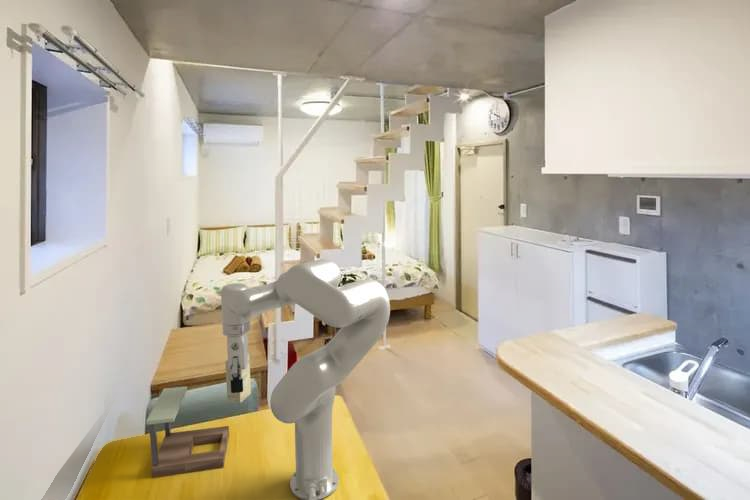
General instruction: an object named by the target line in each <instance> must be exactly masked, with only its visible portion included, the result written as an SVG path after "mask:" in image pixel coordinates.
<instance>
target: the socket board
mask: <svg viewBox="0 0 750 500" xmlns="http://www.w3.org/2000/svg"><path fill="white" fill-rule="evenodd" d="M187 391H188V386H178V387H167V388H163V389H162V391H161V393H160V395H159V396H158V398H157V400H156V402H155V404H154V405H153V407H152V410H151V411H150V413H149V415H148V417H147V419H146V421H145V422H146V424H145V425H148V426H149V437H150V440H149V441H150V451H151V452H150V453H151V463H152V465H151V468H150V469H151V470H150V471H151V478H152V479H155V478H162V477H163V478H164V477H168V476H169V477H171V476H177V475H182V474H183V475H184V474H190V473H197V472H203V471H211V470H216V469H217V470H218V469H224V466H225V461H226V454H227V449H228V448H227V447H228V442H229V436H230V426H229V425H224V426H217V427H215V426H214V427H207V428H200V429H191V430H183V431H176V432H175V431H174V432H171V431H172V430H171V422H173V423H174V422H175V420H176V417H177V415H178V413H179V409H180V408H181V405H182V403H183V400H184V399H185V396H186V393H187ZM163 423H164V432H165V433H164V434H165V435H164V437H163V439H162V442H161V445H160V446H159V449H158V439H157V426H156V425H158V424H163ZM213 444H214V445H215V444H220V448H219V449H218V450H213V451H205V452H203V451H202V452H198V453H192V452H193V450H194V447H197V446H198V447H199V446H206V445H213Z"/></svg>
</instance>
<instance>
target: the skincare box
mask: <svg viewBox="0 0 750 500" xmlns="http://www.w3.org/2000/svg"><path fill="white" fill-rule="evenodd" d="M250 360H251V359H250V354H249V355H248V365H247V368H246V369H242V378H243V392H238V393H231V370H229V368H228V359H227V360H226V361H225V379H226V383H225V385H226V399H227V401H226V402H229V403H230V402H231V403H237V404H241V403H242V402H244V400H245V399H247V398H248V397H249V396H250V395H251V392H252V391H251V389H252V388H251V386H252V385H251V367H250V366H251V364H250V363H251V362H250ZM238 368H240V365H239V363H238ZM238 373H239V370H238Z"/></svg>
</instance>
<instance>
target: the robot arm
mask: <svg viewBox="0 0 750 500" xmlns="http://www.w3.org/2000/svg"><path fill="white" fill-rule="evenodd" d="M341 279H342V272H341V268H340V267H339V266H338V265H337V264H336V262H334V261H333V260H330V259H324V258H323V259H322V258H321V259H319V258H318V259H315V260H311V261H306V262H301V263H297V264H295V265H293V266H291V267H290V268H289V269H287V270H286V271H285V272H283V273H281V274H280V275H279V276H278V278H277V280H275V281H273V282H269V283H267V284H262V285H258V286H253V287H250V288H249V286H248V285H247V284H244V283H238V282H237V283H229V284H226V285H223V287H221V290H220V299H221V301H220V302H221V303H220V304H221V322H222V326H221V327H222V335H223V336H225V337H226V346H227V347H226V352H227V353H226V354H227V360H228V368H229V370H231V393H238V392H243V378H242V369H246V368H247V365H248V355H249V356H250V353H249V337H248V334H249V333H250V332H251V318H252V317H256V316H260V315H261V314H264V313H267V312H270V311H274V310H276V309H279V308H282V307H283V308H284V307H285V306H295V305H298V306H299V307H301V308H302V309H304V310H305V311H307V312H308V313H310V314H311V315H312V316H314V317H316V318H317V319H318V320H320V321H321V322H323V323H324V324H326V325H328V326H330V327H332V328H333V327H334V328H338V329H339V330H337V332H336V333H335V335H334V336H333V337H332V338H331V339H330V340H329V341H328V342H327V343H326V344H325V345H324V346H321V347H319V348H318V349H315V350H314V351H312V352H310V353H307V354H305V355H304V356H302V357H300V358H299V359H298V360H297V361H295V362H294V363H293V364H292V365H291V367H290V368H289V369H288V370H287V372H285V374H284V375H283V377H282V378H280V380H279V382H277V384H276V385H275V386H274V387H273V390H272V392H271V395H270V402H269V403H270V410H271V413H272V414H273V416H274V417H275V418H276V420H277V421H279V422H281V423H282V424H283V423H284V424H293V423H294V445H295V447H294V449H295V472H294V473H293V474H292V475H291V477H290V480H289V487H290V490H291V492H292V494H293V495H294V496H296V497H297V498H298V499H301V500H321V499H325V498H326V497H328V496H330V495H331V494H332V493H334V492H335V491H336V489H337V488H338V486H339V474H338V472H337V471H336V469H334V468H333V410H334V409H333V408H334V402H335V398H336V397H335V396H336V391H337V390H336V389H337V386H338V385H340V384H341V383H343V381H345V380H346V379H347V378H348V376H350V374H351V373H352V371H353V370H354V369H355V368H356V367H357V366H358V365H359V364H360V363H361V361H362V360H363V359H364V358H365V356H366V355H368V353H369V351H371V350H372V348H373V347H375V346H376V344H377V343H378V341H379V340H380V339H381V337H382V336H383V334H384V332H385V331H386V329H387V326H388V325H389V320H390V315H391V304H390V303H391V302H390V297H389V294H388V292H387V290H386V287H384V286H383V285H382V283H380V282H378V281H376V280H372V279H359V280H356V281H353V282H349V283H347V284H344V285H340V283H341V282H342V281H341ZM339 285H340V286H339ZM238 363H239V365H240V368H238ZM238 370H239V373H238Z"/></svg>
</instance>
